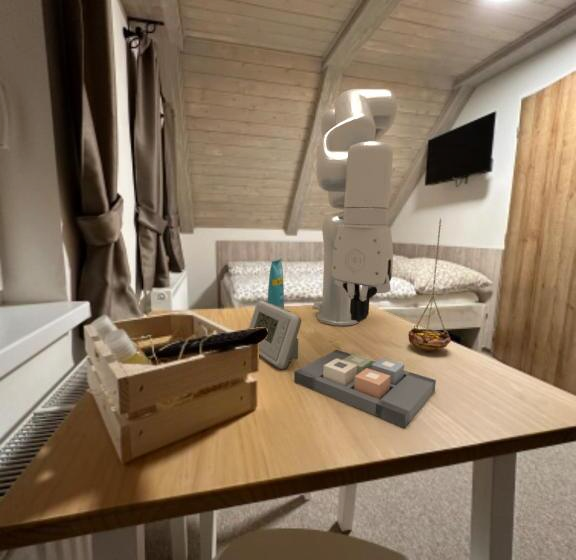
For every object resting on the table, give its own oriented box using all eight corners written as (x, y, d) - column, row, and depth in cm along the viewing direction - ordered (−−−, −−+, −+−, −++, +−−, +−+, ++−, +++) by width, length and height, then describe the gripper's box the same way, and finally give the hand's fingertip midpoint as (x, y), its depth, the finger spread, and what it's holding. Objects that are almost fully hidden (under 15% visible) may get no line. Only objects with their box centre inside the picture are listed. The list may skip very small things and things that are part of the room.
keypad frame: (294, 381, 57) (294, 371, 57) (335, 358, 68) (336, 349, 68) (404, 428, 45) (405, 415, 44) (434, 390, 55) (435, 380, 55)
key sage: (340, 372, 60) (341, 360, 60) (351, 365, 63) (352, 353, 63) (361, 380, 57) (361, 366, 57) (371, 372, 61) (372, 359, 60)
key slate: (370, 378, 56) (371, 364, 56) (380, 370, 59) (381, 357, 59) (393, 386, 54) (395, 371, 53) (403, 377, 57) (404, 363, 56)
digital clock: (242, 345, 75) (242, 300, 73) (278, 340, 78) (279, 298, 76) (264, 374, 60) (264, 320, 58) (307, 367, 63) (309, 316, 62)
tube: (281, 337, 80) (282, 261, 77) (262, 335, 81) (263, 260, 78) (286, 328, 88) (288, 258, 84) (269, 326, 88) (270, 257, 85)
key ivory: (323, 379, 55) (323, 365, 55) (336, 371, 59) (336, 357, 58) (344, 387, 53) (345, 372, 52) (356, 378, 56) (357, 364, 56)
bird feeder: (453, 359, 69) (470, 218, 64) (410, 355, 71) (423, 217, 66) (442, 344, 77) (456, 219, 72) (404, 341, 79) (415, 218, 74)
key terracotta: (353, 390, 52) (354, 376, 51) (365, 381, 55) (366, 367, 54) (378, 400, 49) (379, 384, 49) (389, 390, 52) (390, 375, 52)
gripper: (317, 218, 58) (314, 315, 61) (398, 220, 48) (389, 334, 52) (339, 218, 63) (335, 307, 67) (416, 220, 54) (406, 323, 58)
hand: (358, 319), depth 59 cm, fingers closed
